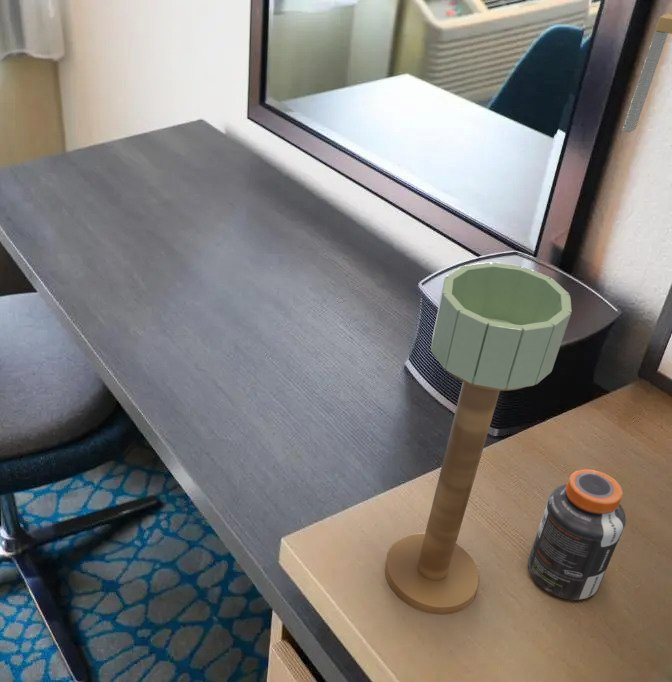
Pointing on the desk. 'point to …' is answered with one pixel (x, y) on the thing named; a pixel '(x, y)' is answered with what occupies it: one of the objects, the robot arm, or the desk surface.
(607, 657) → the desk surface
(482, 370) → the bowl
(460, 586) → the stand
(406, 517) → the desk surface
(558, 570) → the pill bottle
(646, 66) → the wood-topped metal bracket
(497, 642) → the desk surface
